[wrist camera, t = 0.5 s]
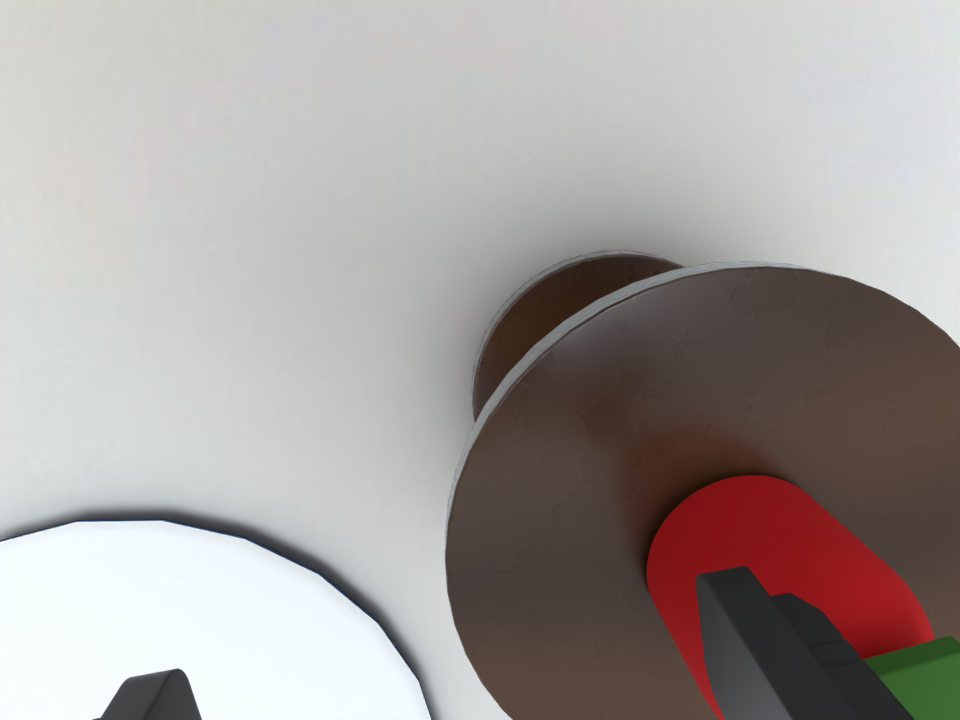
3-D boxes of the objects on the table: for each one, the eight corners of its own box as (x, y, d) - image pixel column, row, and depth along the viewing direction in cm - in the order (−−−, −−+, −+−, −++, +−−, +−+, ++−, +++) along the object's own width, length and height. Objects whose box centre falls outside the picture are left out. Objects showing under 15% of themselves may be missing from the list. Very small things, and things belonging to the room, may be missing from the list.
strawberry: (630, 502, 15) (738, 677, 10) (819, 452, 15) (1015, 599, 10) (662, 660, 17) (771, 881, 12) (836, 612, 17) (1018, 810, 12)
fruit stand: (407, 272, 27) (373, 355, 15) (744, 185, 27) (1003, 195, 14) (490, 569, 30) (520, 846, 18) (790, 494, 30) (1035, 723, 18)
